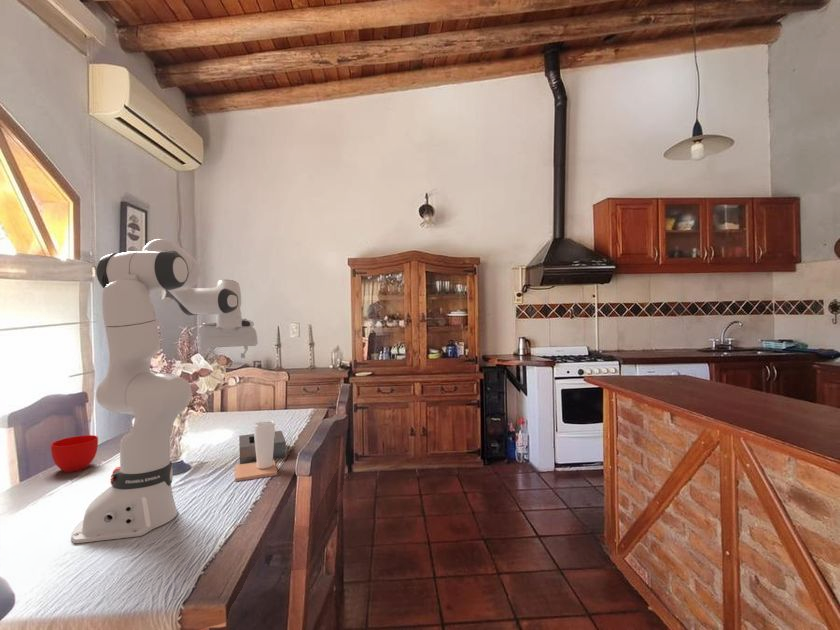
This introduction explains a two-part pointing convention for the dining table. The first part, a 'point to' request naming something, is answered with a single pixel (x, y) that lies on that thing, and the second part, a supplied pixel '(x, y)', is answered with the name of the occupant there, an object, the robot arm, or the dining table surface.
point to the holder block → (250, 453)
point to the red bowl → (74, 452)
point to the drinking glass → (264, 443)
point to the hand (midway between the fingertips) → (229, 358)
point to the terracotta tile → (253, 471)
